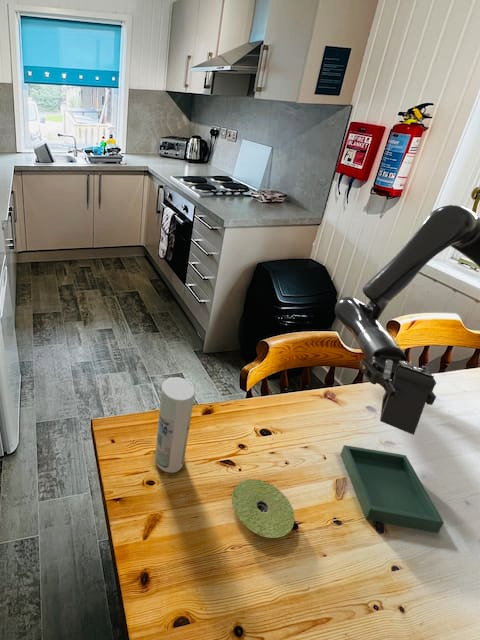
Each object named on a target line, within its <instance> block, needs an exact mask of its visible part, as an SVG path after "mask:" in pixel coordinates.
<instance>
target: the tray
mask: <svg viewBox="0 0 480 640" xmlns="http://www.w3.org/2000/svg"><path fill="white" fill-rule="evenodd" d="M340 457H341V460H342V463H343V465H344V468H345V471H346V472H347V476H348V478H349V480H350V484H351V485H352V489H353V491H354V494H355V495H356V498H357V501H358V503H359V506H360V509H361V511H362V513H363V517H364V519H365V520H366V521H371V522H372V521H373V522H377V523H383V524H388V525H393V526H399V527H405V528H410V529H415V530H421V531H425V532H431V533H435V534H436V533H437V534H439V533H440V531H441V529H442V528H443V526H444V524H445V522H444V520H443V518H442V516H441V515H440V513H439V511H438V510H437V507H436V505H435V504H434V502H433V501H432V499H431V497H430V495H429V494H428V492H427V490H426V488H425V486H424V484H423V483H422V481H421V480H420V478H419V476H418V474H417V472H416V471H415V469H414V467H413V465H412V464H411V461H410V460H409V458H408V457H407V455H406V454H401V453H396V452H390V451H383V450H376V449H372V448H365V447H358V446H352V445H346V444H345V445H344V444H343V445H342V449H341V452H340Z"/></svg>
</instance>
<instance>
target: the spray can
mask: <svg viewBox="0 0 480 640" xmlns="http://www.w3.org/2000/svg"><path fill="white" fill-rule="evenodd" d="M195 395H196V389H195V387H194V385H193V383H192V382H191V381H189V380H188V379H186V378H183V377H180V376H179V377H178V376H173V377H169V378H167V379H165V380H164V381H163V382H162V385H161V391H160V399H159V400H160V402H159V411H158V422H157V432H156V440H155V441H156V443H155V452H154V460H155V464H156V466H157V467H158V468H159V469H160V470H161V471H163V472H166V473H171V474H172V473H176V472H179V471H180V470H181V469H182V468H183V466H184V463H185V458H186V452H187V445H188V438H189V433H190V426H191V420H192V415H193V414H192V413H193V408H194V402H195V397H196V396H195Z"/></svg>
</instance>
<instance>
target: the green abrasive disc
mask: <svg viewBox="0 0 480 640" xmlns="http://www.w3.org/2000/svg"><path fill="white" fill-rule="evenodd" d="M231 504H232V507H233V510H234V512H235V515H236V516H237V518H238V519H239V520H240V522H241V523H242V524H243V525H244V526H245V527H246V528H247V529H249V530H250V531H251V532H253V533H254V534H256V535H258V536H261V537H265V538H269V539H275V538H282V537H285V536H286V535H287V534H289V533H290V532H291V530H292V529H293V527H294V525H295V513H294V508H293V506H292V504H291V502H290V500H289V499H288V498H287V497H286V495H285V494H284V493H283V492H282V491H281V490H280V489H279V488H277V487H276V486H274V484H272V483H270V482H267V481H265V480H262V479H255V478H253V479H252V478H249V479H245V480H242V481H240V482H239V483H238V484H236V485H235V486H234V489H233V491H232V495H231Z"/></svg>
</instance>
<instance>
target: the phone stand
mask: <svg viewBox="0 0 480 640" xmlns="http://www.w3.org/2000/svg"><path fill="white" fill-rule="evenodd" d="M433 378H434V379H433ZM434 380H435V376H434V375H433V374H431V375H429V374H426V373H423V372H420V371H417V370H414V369H411V368H408V367H405V366H402V365H400V364H399V365H398V367H397V370H396V372H395V374H394V376H393V378H392V381H393V385H394V386H396V387H397V389H398V390H399V396H398V398H397V400H395V399H392V398H391V396H389V395H388V394H387V393H386V391H385V392H384V394H383V395H382V403H381V411H380V416H379V417H380V419H379V422H381V423H383V424H386V425H389V426H391V427H393V428H396V429H398V430H400V431H403V432H405V433H408V434H410V435H412V436H415V433H416V431H417V428H418V426H419V425H418V424H419V422H420V419H421V417H422V414H423V411H424V408H425V405H426V404H427V403H426V400H427V397H428V394H429V392H430V390H431V388H432V386H433V382H434Z"/></svg>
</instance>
